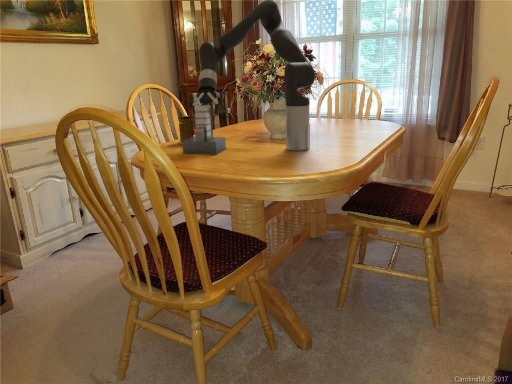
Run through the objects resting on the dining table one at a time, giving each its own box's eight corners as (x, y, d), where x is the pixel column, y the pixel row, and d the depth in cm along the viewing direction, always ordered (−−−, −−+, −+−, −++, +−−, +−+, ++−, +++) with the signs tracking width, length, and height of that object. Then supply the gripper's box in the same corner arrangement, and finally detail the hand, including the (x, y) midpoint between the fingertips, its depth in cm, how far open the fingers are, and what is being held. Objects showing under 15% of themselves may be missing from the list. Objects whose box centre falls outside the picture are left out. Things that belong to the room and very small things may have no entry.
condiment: (179, 142, 190) (176, 115, 186) (197, 140, 192) (195, 114, 188) (180, 144, 183) (178, 117, 179) (199, 143, 185) (197, 116, 182)
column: (211, 137, 166) (210, 104, 162) (207, 139, 162) (205, 106, 158) (200, 137, 167) (198, 105, 164) (196, 139, 163) (194, 106, 159)
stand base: (225, 149, 169) (224, 124, 166) (216, 154, 159) (215, 128, 156) (194, 148, 173) (192, 124, 170) (183, 153, 163) (181, 128, 160)
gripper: (225, 87, 176) (224, 118, 169) (193, 90, 177) (190, 120, 170) (222, 75, 169) (220, 107, 162) (188, 78, 171) (185, 109, 163)
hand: (205, 114), depth 166 cm, fingers open, 8 cm apart
